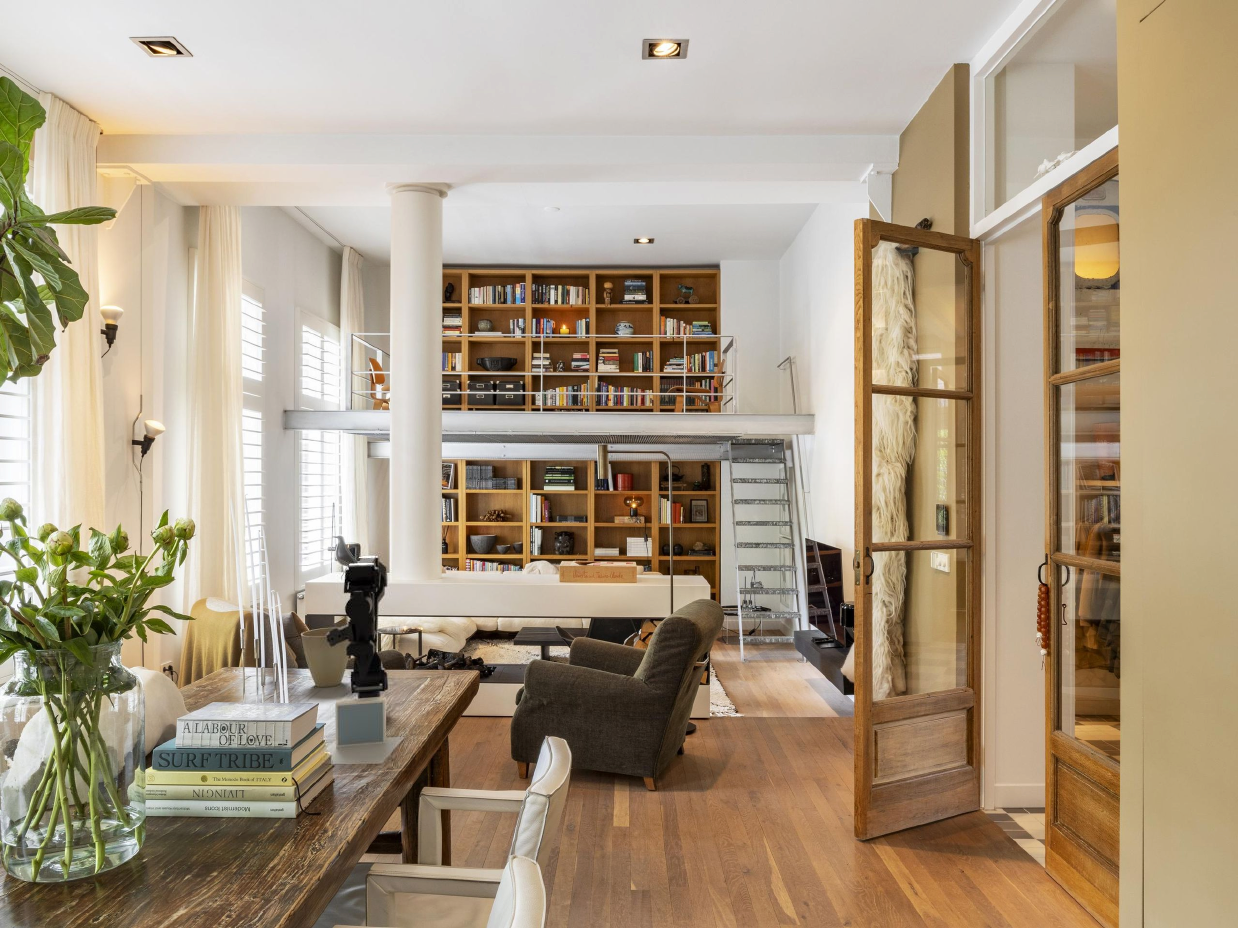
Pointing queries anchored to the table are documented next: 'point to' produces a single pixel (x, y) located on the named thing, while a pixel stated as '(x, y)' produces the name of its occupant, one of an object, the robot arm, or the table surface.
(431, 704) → the table surface
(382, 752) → the mat
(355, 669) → the robot arm
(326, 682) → the plant pot
